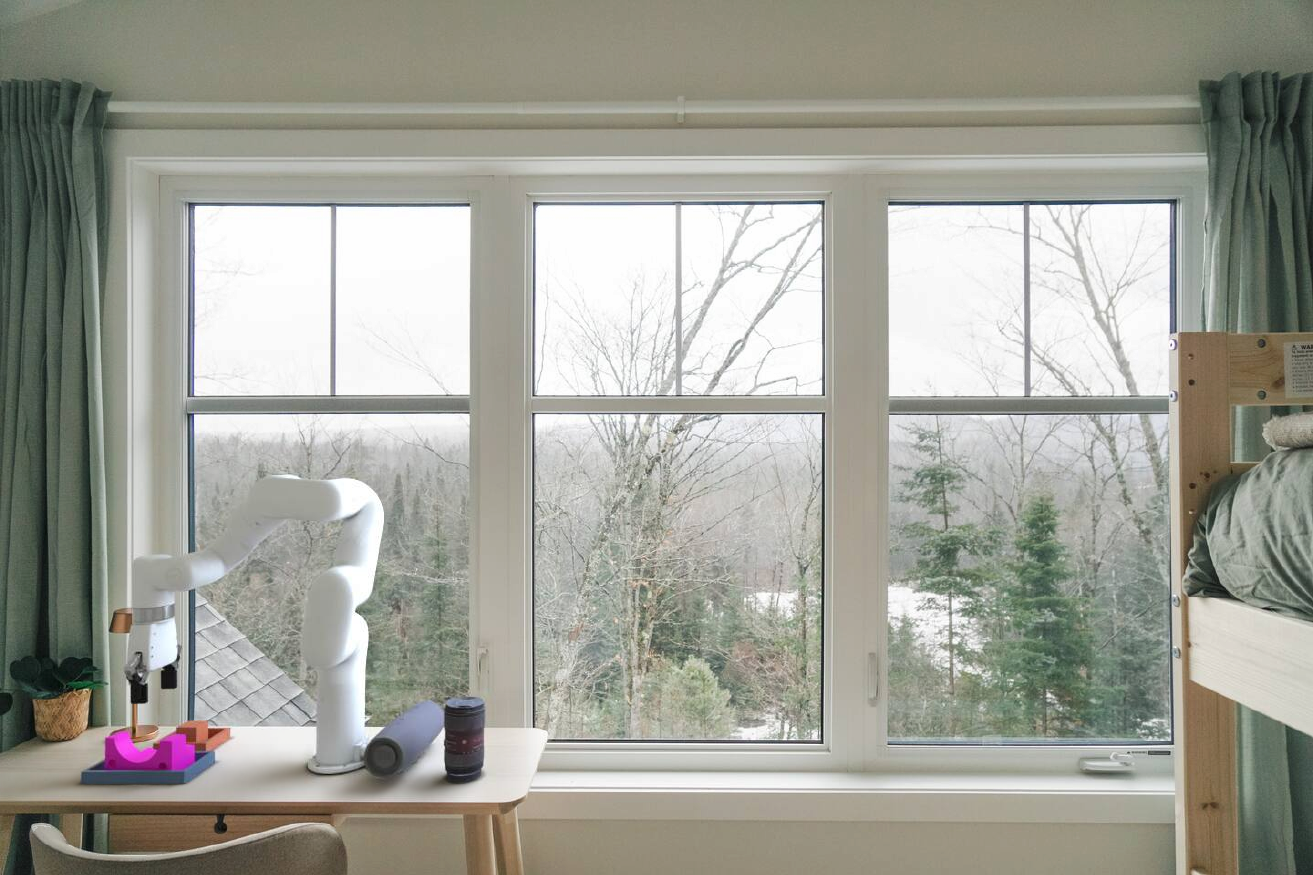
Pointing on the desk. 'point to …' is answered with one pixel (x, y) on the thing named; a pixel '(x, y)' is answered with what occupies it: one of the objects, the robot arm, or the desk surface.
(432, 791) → the desk surface
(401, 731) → the bluetooth speaker
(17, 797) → the desk surface
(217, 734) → the terracotta tray
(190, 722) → the terracotta cube
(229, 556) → the robot arm
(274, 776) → the desk surface
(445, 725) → the camera lens
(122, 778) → the blue tray
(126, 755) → the toy block
